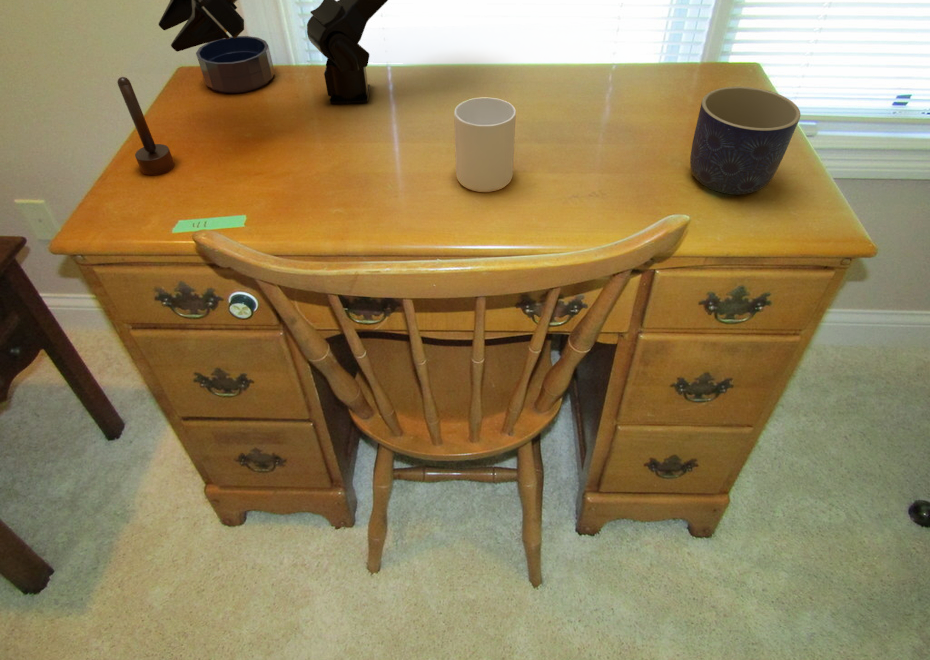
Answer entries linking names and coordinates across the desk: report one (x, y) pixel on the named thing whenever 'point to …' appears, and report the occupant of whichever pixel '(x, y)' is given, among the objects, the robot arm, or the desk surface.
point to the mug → (484, 143)
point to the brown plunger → (145, 136)
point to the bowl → (236, 64)
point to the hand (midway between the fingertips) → (167, 37)
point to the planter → (741, 138)
